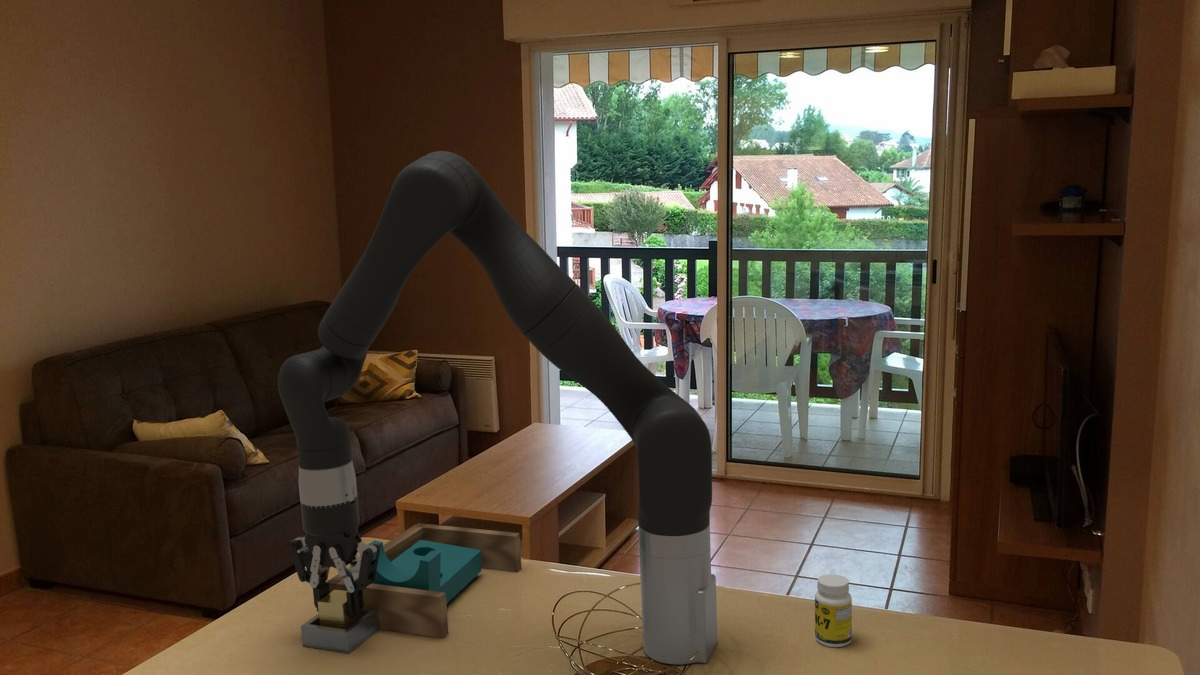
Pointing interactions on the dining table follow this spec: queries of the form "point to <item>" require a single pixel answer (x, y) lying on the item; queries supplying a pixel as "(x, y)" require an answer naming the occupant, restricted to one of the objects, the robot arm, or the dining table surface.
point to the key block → (335, 611)
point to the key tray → (340, 633)
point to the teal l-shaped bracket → (429, 567)
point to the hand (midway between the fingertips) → (339, 612)
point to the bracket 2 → (429, 607)
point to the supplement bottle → (833, 611)
